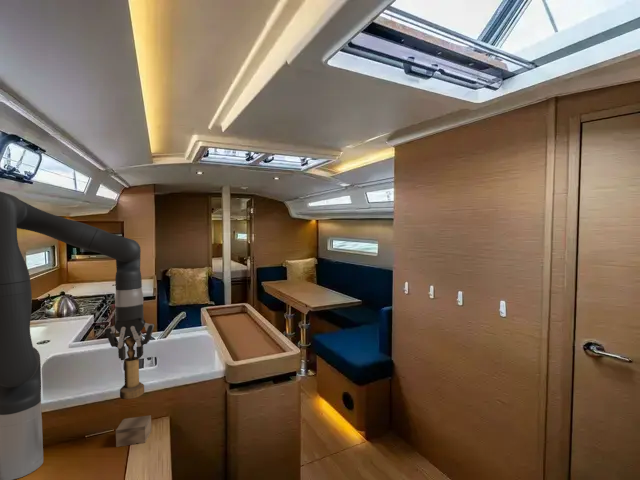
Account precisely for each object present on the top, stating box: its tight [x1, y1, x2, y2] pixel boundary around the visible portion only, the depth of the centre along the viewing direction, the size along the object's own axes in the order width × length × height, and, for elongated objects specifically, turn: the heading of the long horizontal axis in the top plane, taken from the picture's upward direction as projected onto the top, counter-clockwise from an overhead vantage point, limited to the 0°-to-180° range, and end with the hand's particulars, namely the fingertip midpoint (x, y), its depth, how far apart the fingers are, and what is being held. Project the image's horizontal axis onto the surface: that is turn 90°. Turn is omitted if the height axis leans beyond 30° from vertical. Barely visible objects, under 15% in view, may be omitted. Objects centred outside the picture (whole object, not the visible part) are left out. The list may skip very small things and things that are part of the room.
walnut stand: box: [115, 415, 152, 448], centre depth 104 cm, size 8×6×5 cm
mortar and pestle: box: [119, 336, 145, 400], centre depth 103 cm, size 7×6×18 cm
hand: (131, 358), depth 103 cm, fingers closed on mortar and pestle, 4 cm apart
